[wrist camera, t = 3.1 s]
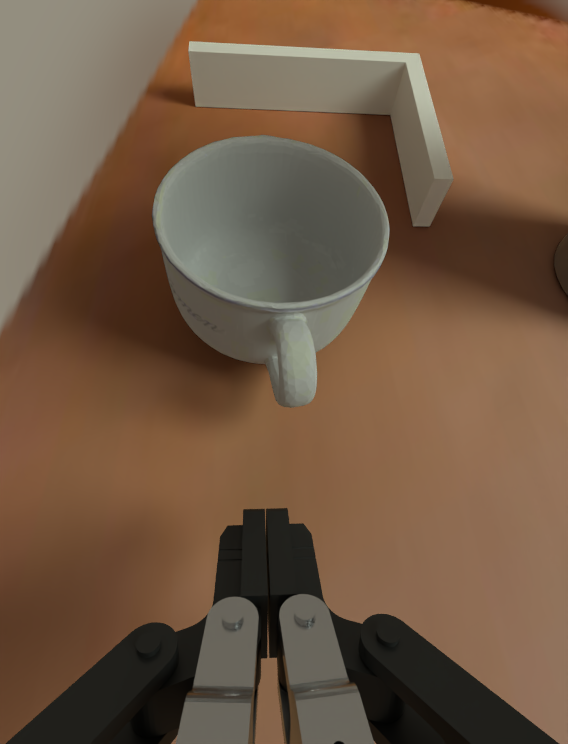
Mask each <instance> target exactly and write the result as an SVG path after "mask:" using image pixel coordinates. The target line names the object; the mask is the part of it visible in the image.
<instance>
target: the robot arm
mask: <svg viewBox="0 0 568 744" xmlns="http://www.w3.org/2000/svg"><path fill="white" fill-rule="evenodd" d="M554 266H555V270H556V274H557V278H558V280H559V282H560V284H561V286H562V288H563V290H564V291H565V293H566V294H567V295H568V234H567V235H566V236H565V237H564V238H563V240H562V241H561V242H560V244H559V245H558V247H557V250H556V253H555V262H554ZM267 626H268V632H269V658H277V667H278V684H277V685H278V696H279V704H280V712H281V720H282V728H283V736H284V744H374V741H375V742H376V743H377V744H559V743H557V742H556V741H555V740H554V739H552V738H551V737H550V736H548V735H547V734H546V733H545V732H543V731H542V730H541V729H540V728H538V727H537V726H536V725H534V724H533V723H532V722H531V721H529V720H528V719H527V718H525V717H524V716H523V715H522V714H520V713H519V712H518V711H516V710H515V709H514V708H513V707H511V706H510V705H509V704H508V703H506V702H505V701H504V700H502V699H501V698H500V697H499V696H497V695H496V694H495V693H493V692H492V691H491V690H490V689H488V688H487V687H486V686H484V685H483V684H482V683H481V682H479V681H478V680H477V679H476V678H474V677H473V676H472V675H470V674H469V673H468V672H467V671H465V670H464V669H463V668H461V667H460V666H459V665H458V664H456V663H455V662H454V661H452V660H451V659H450V658H449V657H447V656H446V655H445V654H444V653H442V652H441V651H440V650H438V649H437V648H436V647H435V646H433V645H432V644H431V643H429V642H428V641H427V640H426V639H424V638H423V637H422V636H420V635H419V634H418V633H417V632H415V631H414V630H413V629H412V628H410V627H409V626H408V625H406V624H405V623H404V622H403V621H401V620H400V619H398V618H396V617H394V616H391V615H387V614H376V615H372V616H370V617H369V618H367V619H366V620H365V621H364V622H363V624H360V623H357V622H353V621H349V620H346V619H343V618H341V617H339V616H337V615H336V614H334V613H333V612H332V611H331V610H330V609H329V608H328V607H327V605H326V604H325V601H324V599H323V595H322V590H321V584H320V579H319V573H318V568H317V563H316V559H315V552H314V546H313V541H312V535H311V533H310V532H309V530H308V529H307V528H306V527H305V525H304V524H289V517H288V509H287V508H278V509H266V533H265V509H244V510H243V525H233V526H227V527H226V529H225V530H224V532H223V533H222V535H221V536H220V544H219V554H218V563H217V573H216V582H215V592H214V601H213V605H212V608H211V609H210V611H209V613H208V614H207V616H206V617H205V618H204V619H203V620H201V621H200V622H199V623H197V624H195V625H193V626H191V627H189V628H186V629H183V630H180V631H177V632H175V631H174V630H173V629H172V628H171V627H170V626H168V625H166V624H164V623H148V624H145V625H142V626H140V627H138V628H137V629H135V630H134V631H132V632H131V633H130V634H129V635H128V636H127V637H126V638H124V639H123V640H122V641H121V642H120V643H119V644H118V645H117V646H115V647H114V648H113V649H112V650H111V651H110V652H109V653H107V654H106V655H105V656H104V657H103V658H102V659H101V660H100V661H98V662H97V663H96V664H95V665H94V666H93V667H92V668H91V669H89V670H88V671H87V672H86V673H85V674H84V675H83V676H82V677H80V678H79V679H78V680H77V681H76V682H75V683H74V684H72V685H71V686H70V687H69V688H68V689H67V690H66V691H65V692H63V693H62V694H61V695H60V696H59V697H58V698H57V699H56V700H54V701H53V702H52V703H51V704H50V705H49V706H48V707H47V708H45V709H44V710H43V711H42V712H41V713H40V714H39V715H37V716H36V717H35V718H34V719H33V720H32V721H31V722H30V723H28V724H27V725H26V726H25V727H24V728H23V729H22V730H21V731H19V732H18V733H17V734H16V735H15V736H14V737H13V738H12V739H10V740H9V741H8V742H7V743H6V744H171V743H172V741H173V740H174V739H175V738H176V736H177V735H178V736H177V741H176V744H255V736H256V720H257V703H258V685H259V683H260V679H261V658H267ZM373 740H374V741H373Z"/></svg>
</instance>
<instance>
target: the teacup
mask: <svg viewBox="0 0 568 744" xmlns="http://www.w3.org/2000/svg"><path fill="white" fill-rule="evenodd" d="M154 199H155V200H154V204H153V211H152V219H153V226H154V230H155V235H156V238H157V241H158V243H159V245H160V247H161V250H162V255H163V260H164V264H165V268H166V273H167V277H168V281H169V284H170V287H171V290H172V294H173V297H174V300H175V302H176V304H177V307H178V309H179V311H180V313H181V315H182V317H183V318H184V320H185V321H186V323H187V324H188V325H189V327H190V328H191V329H192V330H193V332H194V333H195V334H196V335H197V336H198V337H199V338H200V339H202V340H203V341H204V342H205V343H207V344H208V345H209V346H211V347H212V348H214V349H215V350H217V351H219V352H220V353H222V354H225V355H227V356H229V357H232V358H234V359H237V360H241V361H245V362H250V363H256V364H266V367H267V369H268V371H269V375H270V380H271V384H272V388H273V392H274V395H275V399H276V401H277V402H278V404H279V405H281V406H283V407H290V408H292V407H298V406H303V405H306V404H308V403H310V402H311V401H312V400H313V398H314V396H315V392H316V385H317V367H316V354H315V353H316V352H317V351H319V350H321V349H323V348H324V347H325V346H327V345H328V344H329V343H330V342H332V341H333V340H334V339H335V338H336V337H337V336H338V335H339V334H340V332H341V331H342V330H343V329H344V327H345V326H346V325H347V323H348V322H349V320H350V319H351V317H352V316H353V314H354V312H355V310H356V308H357V307H358V305H359V303H360V301H361V299H362V297H363V295H364V293H365V291H366V289H367V287H368V285H369V283H370V281H371V279H372V278H373V277H374V275H375V274H376V272H377V271H378V269H379V268H380V266H381V264H382V262H383V259H384V257H385V255H386V252H387V249H388V241H389V230H390V228H389V221H388V216H387V212H386V209H385V207H384V204H383V202H382V200H381V198H380V196H379V195H378V193H377V192H376V190H375V189H374V187H373V186H372V185H371V184H370V183H369V181H368V180H367V179H366V178H365V177H364V176H363V175H362V174H361V173H360V172H359V171H358V170H356V169H355V168H354V167H353V166H352V165H350V164H349V163H347V162H346V161H344V160H343V159H341V158H340V157H338V156H336V155H334V154H332V153H330V152H328V151H326V150H324V149H321V148H319V147H316V146H313V145H311V144H308V143H304V142H299V141H295V140H292V139H285V138H278V137H274V136H268V135H260V136H247V137H232V138H229V139H225V140H221V141H216V142H213V143H210V144H208V145H206V146H203V147H201V148H199V149H196V150H195V151H193V152H191V153H189V154H188V155H187V156H185V157H184V158H182V159H181V160H180V161H179V162H178V163H177V164H176V165H174V166H173V167H172V168H171V169H170V170H169V172H168V173H167V175H166V176H165V177H164V178H163V180H162V182H161V184H160V186H159V187H158V189H157V192H156V195H155V197H154Z"/></svg>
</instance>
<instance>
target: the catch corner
mask: <svg viewBox="0 0 568 744" xmlns="http://www.w3.org/2000/svg"><path fill="white" fill-rule="evenodd" d="M189 59H190V67H191V75H192V83H193V91H194V99H195V106H196V107H217V108H240V109H263V110H287V111H310V112H333V113H356V114H380V115H390V116H391V121H392V126H393V131H394V136H395V141H396V146H397V150H398V155H399V160H400V165H401V170H402V175H403V180H404V185H405V190H406V195H407V199H408V204H409V209H410V214H411V219H412V224H413V226H425V227H430V225H431V223H432V221H433V219H434V217H435V215H436V213H437V211H438V209H439V207H440V205H441V203H442V201H443V199H444V197H445V195H446V193H447V191H448V189H449V187H450V185H451V183H452V181H453V176H452V172H451V168H450V165H449V161H448V157H447V154H446V150H445V146H444V143H443V139H442V135H441V132H440V128H439V124H438V121H437V117H436V114H435V110H434V106H433V103H432V99H431V95H430V92H429V88H428V84H427V81H426V77H425V73H424V70H423V66H422V62H421V59H420V55H419V54H417V53H398V52H379V51H361V50H342V49H323V48H304V47H285V46H267V45H248V44H229V43H210V42H191V41H190V42H189Z"/></svg>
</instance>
